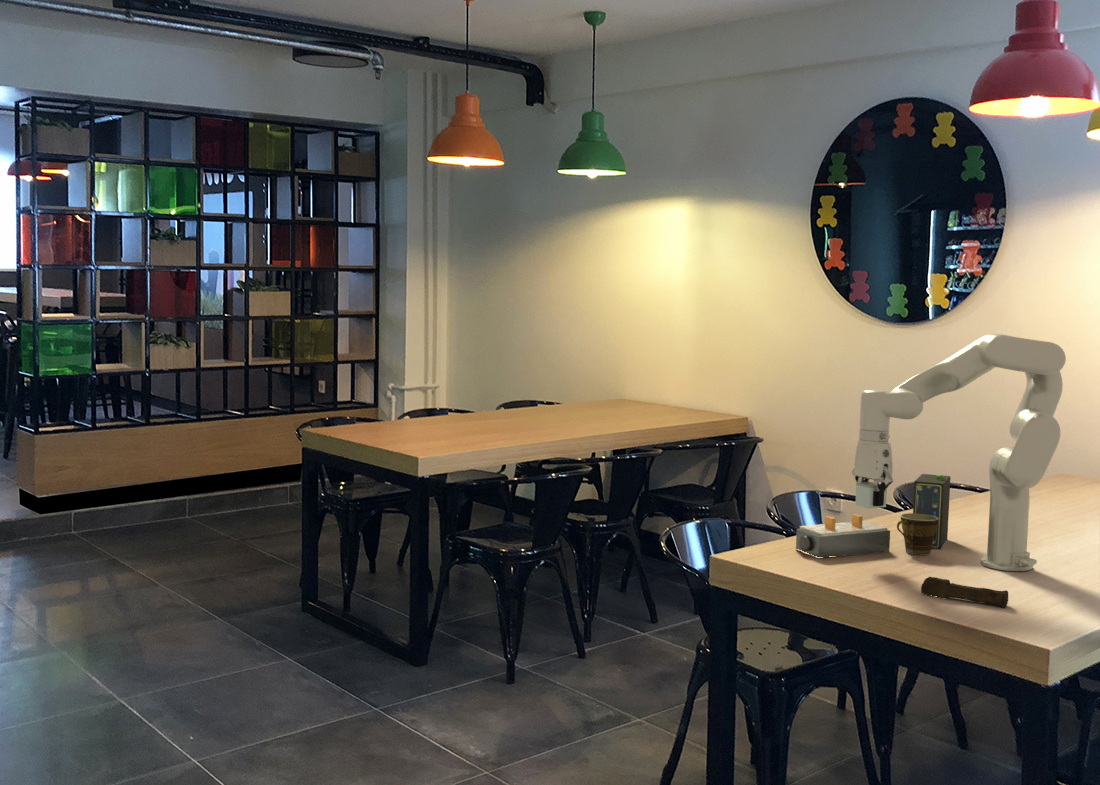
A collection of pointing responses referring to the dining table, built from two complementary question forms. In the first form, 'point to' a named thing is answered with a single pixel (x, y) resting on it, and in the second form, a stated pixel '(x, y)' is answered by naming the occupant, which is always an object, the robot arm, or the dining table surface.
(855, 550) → the grey toaster
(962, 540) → the dining table surface
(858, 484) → the pale grey cube
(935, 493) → the dark grey box
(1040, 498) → the dining table surface
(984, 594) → the dark brown flashlight
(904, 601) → the dining table surface
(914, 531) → the ceramic cup
